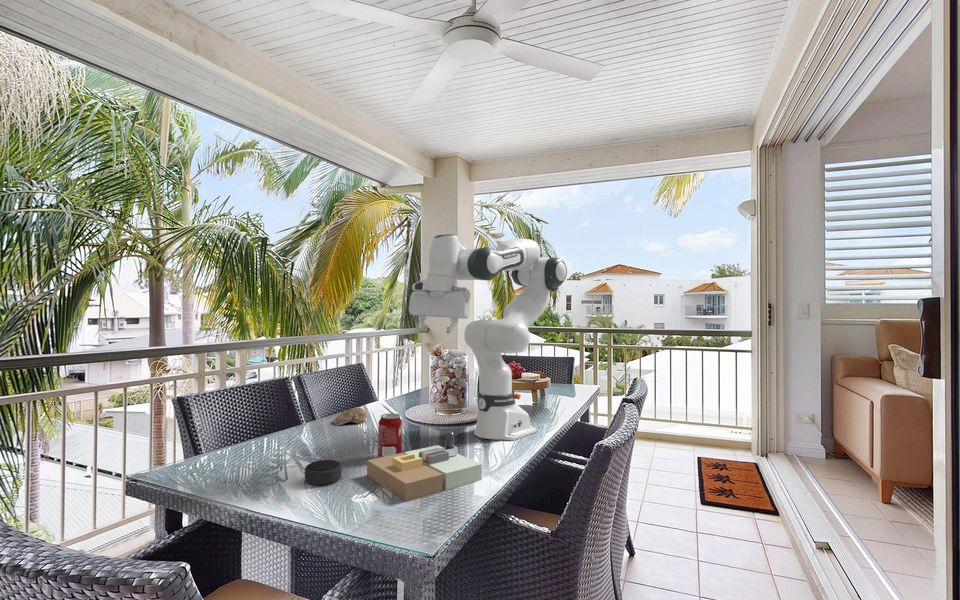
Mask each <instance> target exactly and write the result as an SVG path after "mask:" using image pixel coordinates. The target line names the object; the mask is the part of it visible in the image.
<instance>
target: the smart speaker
mask: <svg viewBox="0 0 960 600" xmlns="http://www.w3.org/2000/svg"><path fill="white" fill-rule="evenodd" d="M342 468H343V467H342V464H341V462H339V461H337V460H334V459H323V460H321V459H320V460H316V461H312V462H310V463H308V464H307V465H306V466H305V468H304V481H305V482H306V483H307V484H309V485H313V486H327V485H331V484H334V483H336V482H338V481H340V479H342V475H343V474H342V473H343V472H342Z"/></svg>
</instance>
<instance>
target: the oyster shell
mask: <svg viewBox="0 0 960 600" xmlns="http://www.w3.org/2000/svg"><path fill="white" fill-rule="evenodd" d="M368 415H369V414H368V411H366V409H364V408H362V407H357V406H355V407H353V408H349V409H346V410H344V411H343V412H342V411H341V413H339V414H337V416H336V417H335V419H334V420H333V422H332V425H333V424H334V425H336V426H335V427H337V426H342V425H345V424H347V423H353V424H354V423H355V424H359V425H361V424H363V422H364V423H365V422H366V420H367V418H368V417H369V416H368ZM360 423H361V424H360ZM334 425H333V426H334Z"/></svg>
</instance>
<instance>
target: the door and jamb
mask: <svg viewBox="0 0 960 600" xmlns="http://www.w3.org/2000/svg"><path fill="white" fill-rule="evenodd" d="M439 448H444V447H443V446H441V445H439V444H437V445H432V446H427V447H424V448H418V449H413V450H409V451H405V452H404V453H403V452H402V453H399V454H394V455H390V456H385V457H377V458H371V459H367V460H366V476H367V477H368V478H370V479H371V480H373V481H375V483H378V484H379V485H380V486H382V487H384V488H385V489H387V490H388V491H389V492H391V493H393V494H394V495H395V496H397V497H399V498H400V499H402V500H403V501H405V502H407V501H412V500H415V499H419V498H422V497H426V496H429V495H432V494H433V495H434V494H436V493H439V492H443V491H444V490H446V491H447V490H450V489H451V490H452V489H454V488H457V487H461V486H464V485H468V484H471V483H475V482H479V481H482V479H483V478H482V475H483V473H482V463H480V462H478V461H475V460H473V459H471V458H469V457H466V456H464V455H461V454H460V453H458V455H454V456H450V457H449V452H447V451H445V452H441V453H437V454H432V455H428V456H427V462H425V461H423V458H422V452H425V451H430V450H435V449H439Z"/></svg>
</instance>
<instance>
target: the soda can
mask: <svg viewBox="0 0 960 600" xmlns="http://www.w3.org/2000/svg"><path fill="white" fill-rule="evenodd" d="M377 426H378V427H377V428H378V429H377V430H378V431H377V432H378V436H377V437H378V438H377V440H378V441H377V451H378V452H377V455H378V458H380V457H385V456H390V455H394V454H399V453H402V454H403V420H402V419H401V414H399V413H395V412H393V413H392V412H391V413H390V412H389V413H384V414H381V415H380V419H379V421H378V425H377Z"/></svg>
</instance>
